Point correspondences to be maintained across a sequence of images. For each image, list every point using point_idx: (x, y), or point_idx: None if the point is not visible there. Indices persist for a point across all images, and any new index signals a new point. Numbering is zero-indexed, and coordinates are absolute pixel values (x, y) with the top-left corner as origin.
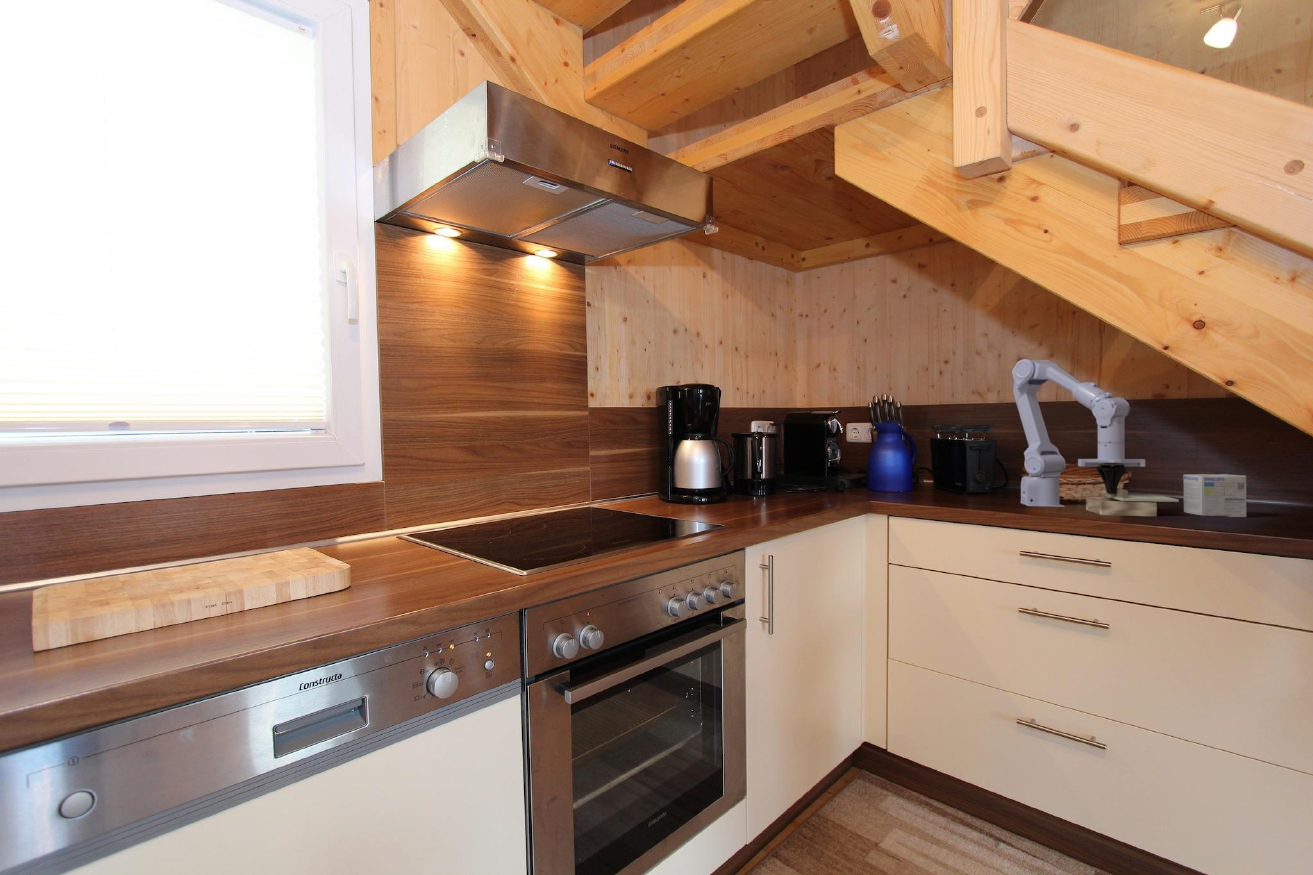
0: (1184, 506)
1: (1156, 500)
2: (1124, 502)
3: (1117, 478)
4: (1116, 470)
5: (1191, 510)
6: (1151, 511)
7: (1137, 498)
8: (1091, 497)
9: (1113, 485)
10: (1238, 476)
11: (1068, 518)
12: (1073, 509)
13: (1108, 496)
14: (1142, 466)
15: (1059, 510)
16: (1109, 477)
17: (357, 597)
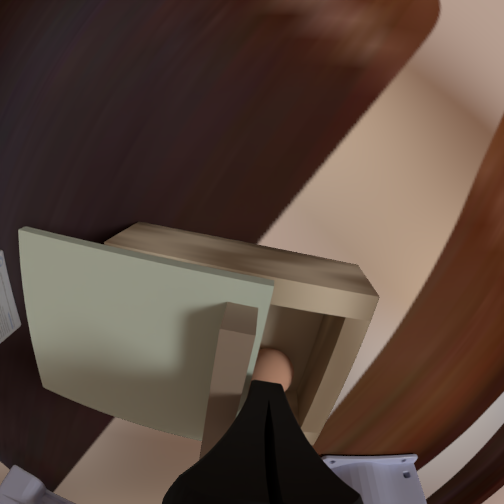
0: (6, 334)
1: (99, 245)
2: (263, 273)
3: (245, 444)
4: (265, 495)
5: (3, 299)
6: (145, 233)
7: (180, 282)
8: None
9: (265, 416)
10: None
11: (499, 223)
12: None
13: None
14: (28, 474)
15: (380, 416)
16: (305, 457)
17: None
